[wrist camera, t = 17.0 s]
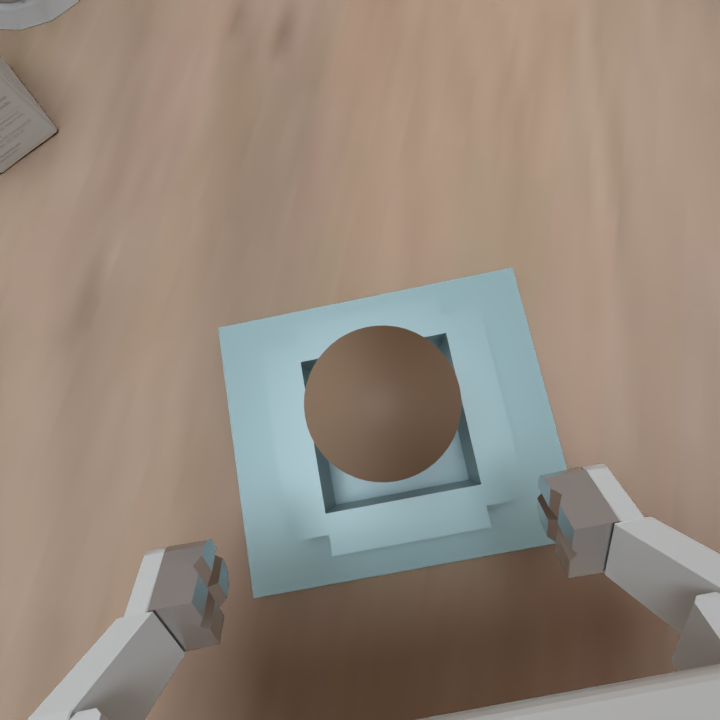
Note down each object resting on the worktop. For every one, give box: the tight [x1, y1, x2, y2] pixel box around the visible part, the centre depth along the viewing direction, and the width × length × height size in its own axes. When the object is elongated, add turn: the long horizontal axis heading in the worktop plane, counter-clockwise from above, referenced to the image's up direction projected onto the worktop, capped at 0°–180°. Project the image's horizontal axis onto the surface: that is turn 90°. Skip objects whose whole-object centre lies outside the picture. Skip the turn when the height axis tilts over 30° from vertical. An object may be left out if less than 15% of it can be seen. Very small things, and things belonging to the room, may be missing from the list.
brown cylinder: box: [304, 325, 461, 482], centre depth 16 cm, size 4×4×9 cm
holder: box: [218, 268, 567, 598], centre depth 20 cm, size 14×12×4 cm
